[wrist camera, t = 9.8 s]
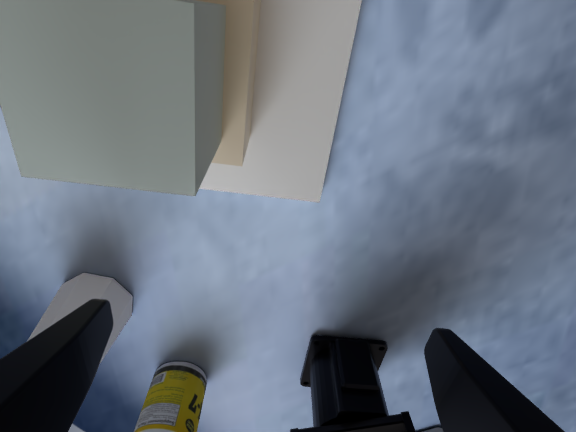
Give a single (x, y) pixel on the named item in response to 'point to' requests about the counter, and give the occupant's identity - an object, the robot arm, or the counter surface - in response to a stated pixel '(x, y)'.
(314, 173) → the build base
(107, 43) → the sage cube
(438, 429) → the flask
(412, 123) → the counter surface
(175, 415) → the supplement bottle
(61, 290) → the pepper shaker
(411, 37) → the counter surface
